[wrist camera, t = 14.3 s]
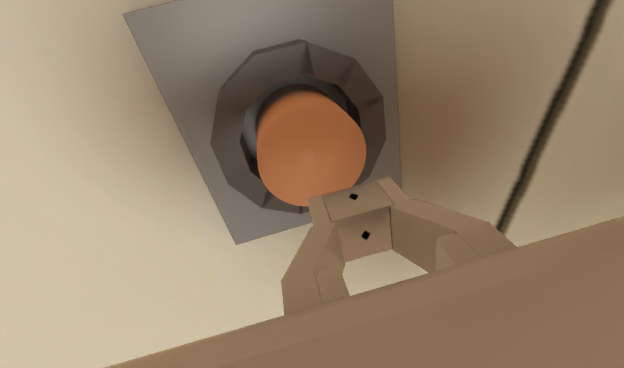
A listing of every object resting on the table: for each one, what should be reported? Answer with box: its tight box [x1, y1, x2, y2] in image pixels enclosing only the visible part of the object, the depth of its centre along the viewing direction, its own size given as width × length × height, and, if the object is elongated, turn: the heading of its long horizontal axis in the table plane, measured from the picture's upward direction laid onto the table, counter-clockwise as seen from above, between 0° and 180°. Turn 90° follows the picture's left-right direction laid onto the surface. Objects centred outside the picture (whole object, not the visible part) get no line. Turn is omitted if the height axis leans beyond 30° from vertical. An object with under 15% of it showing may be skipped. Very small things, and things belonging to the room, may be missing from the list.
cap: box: [255, 84, 366, 206], centre depth 16 cm, size 6×6×5 cm
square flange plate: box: [122, 0, 402, 245], centre depth 18 cm, size 14×16×4 cm
